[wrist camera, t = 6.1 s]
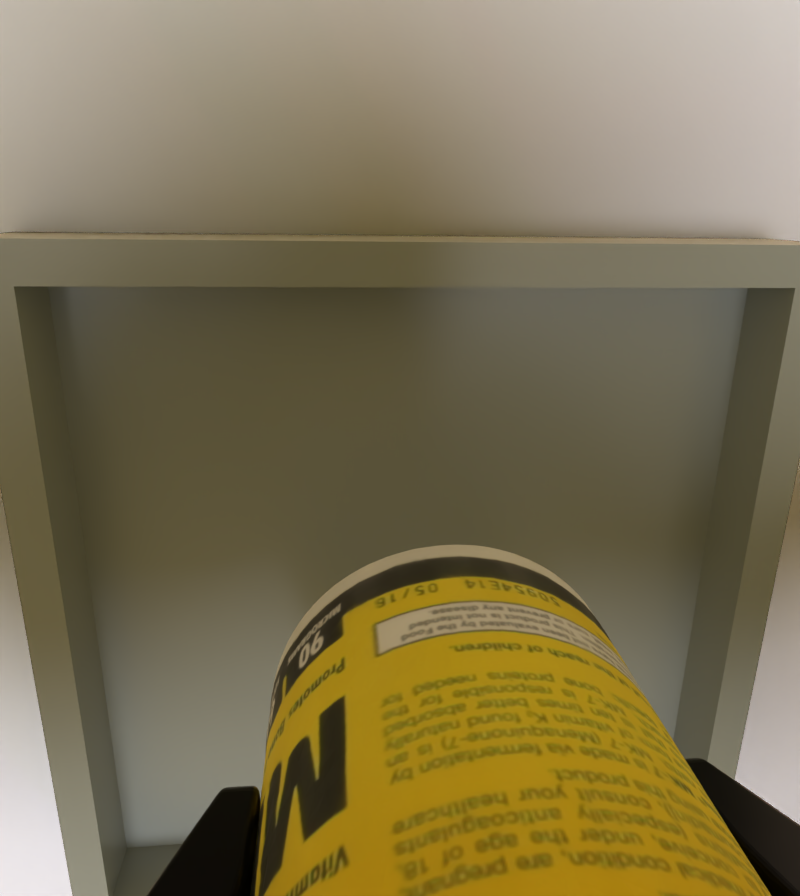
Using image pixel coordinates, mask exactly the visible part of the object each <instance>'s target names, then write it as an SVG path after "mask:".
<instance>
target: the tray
mask: <svg viewBox="0 0 800 896" xmlns="http://www.w3.org/2000/svg"><path fill="white" fill-rule="evenodd" d="M799 458H800V242H799V241H788V240H777V239H729V238H622V237H514V236H406V235H299V234H191V233H83V232H7V233H0V487H1V493H2V499H3V504H4V510H5V516H6V521H7V527H8V533H9V538H10V544H11V550H12V555H13V561H14V567H15V572H16V578H17V584H18V589H19V595H20V601H21V606H22V612H23V618H24V623H25V629H26V635H27V640H28V646H29V652H30V657H31V663H32V669H33V674H34V680H35V686H36V691H37V697H38V703H39V708H40V714H41V720H42V725H43V731H44V736H45V742H46V748H47V753H48V759H49V765H50V770H51V776H52V782H53V787H54V793H55V799H56V804H57V810H58V816H59V821H60V827H61V833H62V838H63V844H64V850H65V855H66V861H67V867H68V872H69V878H70V884H71V889H72V895H73V896H146V894H147V893H148V892H149V890H150V889H151V887H152V886H153V884H154V883H155V882H156V880H157V879H158V877H159V876H160V875H161V873H162V872H163V870H164V869H165V867H166V866H167V865H168V863H169V862H170V860H171V859H172V858H173V856H174V855H175V853H176V852H177V851H178V849H179V848H180V846H181V845H182V843H183V842H184V841H185V839H186V838H187V836H188V835H189V834H190V832H191V831H192V829H193V828H194V826H195V825H196V824H197V822H198V821H199V819H200V818H201V817H202V815H203V814H204V812H205V811H206V809H207V808H208V807H209V805H210V804H211V802H212V801H213V800H214V798H215V797H216V795H217V794H218V793H219V791H220V790H222V789H223V788H226V787H237V786H256V787H257V788H258V790H259V792H260V801H261V791H262V784H263V774H264V765H265V755H266V739H267V729H268V723H269V717H270V707H271V697H272V691H273V686H274V680H275V676H276V672H277V668H278V665H279V662H280V659H281V656H282V654H283V652H284V649H285V647H286V645H287V642H288V641H289V639H290V637H291V635H292V633H293V631H294V630H295V628H296V627H297V625H298V624H299V622H300V621H301V619H302V618H303V617H304V615H305V614H306V613H307V612H308V611H309V609H310V608H311V607H312V606H313V605H314V604H315V603H316V602H317V601H318V600H319V599H320V598H321V597H322V596H323V595H324V594H325V593H326V592H327V591H328V590H329V589H331V588H332V587H333V586H334V585H335V584H337V583H338V582H340V581H341V580H343V579H344V578H346V577H347V576H348V575H350V574H352V573H354V572H355V571H357V570H359V569H360V568H362V567H364V566H366V565H368V564H370V563H373V562H375V561H378V560H380V559H383V558H385V557H388V556H391V555H394V554H397V553H401V552H404V551H408V550H412V549H417V548H424V547H431V546H438V545H476V546H484V547H490V548H495V549H499V550H503V551H507V552H510V553H514V554H517V555H519V556H522V557H524V558H526V559H529V560H531V561H533V562H535V563H537V564H539V565H541V566H543V567H544V568H546V569H548V570H549V571H551V572H552V573H554V574H555V575H557V576H558V577H559V578H560V579H562V580H563V581H564V582H566V583H567V584H568V585H569V586H570V587H571V588H572V589H573V590H574V591H575V592H576V593H577V594H578V595H579V596H580V597H581V598H582V599H583V601H584V602H585V603H586V605H587V606H588V607H589V609H590V610H591V612H592V613H593V615H594V616H595V618H596V619H597V620H598V621H599V623H600V624H601V626H602V627H603V629H604V630H605V632H606V633H607V635H608V637H609V639H610V640H611V642H612V644H613V646H614V647H615V649H616V650H617V652H618V653H619V655H620V656H621V658H622V659H623V661H624V663H625V664H626V666H627V667H628V669H629V671H630V672H631V674H632V676H633V677H634V679H635V681H636V682H637V684H638V685H639V687H640V689H641V690H642V692H643V693H644V695H645V697H646V698H647V700H648V701H649V703H650V704H651V706H652V708H653V709H654V711H655V712H656V714H657V716H658V717H659V719H660V720H661V722H662V724H663V725H664V727H665V728H666V730H667V732H668V733H669V735H670V736H671V738H672V740H673V741H674V743H675V745H676V746H677V748H678V749H679V751H680V752H681V754H682V755H683V757H684V759H686V758H701V759H704V760H706V761H708V762H709V763H711V764H712V765H714V766H715V767H717V768H718V769H719V770H721V771H722V772H724V773H725V774H727V775H728V776H729V777H731V778H732V779H735V774H736V769H737V764H738V759H739V754H740V749H741V744H742V739H743V734H744V729H745V724H746V720H747V715H748V710H749V705H750V700H751V695H752V690H753V685H754V680H755V675H756V670H757V665H758V660H759V656H760V651H761V646H762V641H763V636H764V631H765V626H766V621H767V616H768V611H769V606H770V601H771V596H772V591H773V587H774V582H775V577H776V572H777V567H778V562H779V557H780V552H781V547H782V542H783V537H784V532H785V527H786V523H787V518H788V513H789V508H790V503H791V498H792V493H793V488H794V483H795V478H796V473H797V468H798V463H799Z"/></svg>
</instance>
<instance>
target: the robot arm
mask: <svg viewBox="0 0 800 896" xmlns="http://www.w3.org/2000/svg"><path fill="white" fill-rule="evenodd" d="M685 760H686V762H687V763H688V765H689V766H690V768H691V770H692V771H693V773H694V775H695V776H696V778H697V779H698V781H699V783H700V784H701V786H702V787H703V789H704V790H705V792H706V794H707V795H708V797H709V798H710V800H711V802H712V803H713V805H714V806H715V808H716V810H717V811H718V813H719V814H720V816H721V817H722V819H723V821H724V822H725V824H726V825H727V827H728V829H729V830H730V832H731V833H732V835H733V837H734V838H735V840H736V841H737V843H738V844H739V846H740V847H741V849H742V851H743V852H744V854H745V855H746V857H747V858H748V860H749V861H750V863H751V864H752V866H753V868H754V869H755V871H756V872H757V874H758V875H759V877H760V878H761V880H762V882H763V883H764V885H765V886H766V888H767V889H768V891H769V892H770V894H771V895H772V896H800V825H799V824H797V823H796V822H794V821H793V820H792V819H790V818H789V817H787V816H786V815H784V814H783V813H781V812H780V811H779V810H777V809H776V808H774V807H773V806H771V805H770V804H768V803H767V802H766V801H764V800H763V799H761V798H760V797H758V796H757V795H755V794H754V793H753V792H751V791H750V790H748V789H747V788H745V787H744V786H742V785H741V784H740V783H738V782H737V781H735V780H734V779H732V778H731V777H729V776H728V775H727V774H725V773H724V772H722V771H721V770H719V769H718V768H717V767H715V766H714V765H712V764H711V763H709V762H708V761H706V760H704V759H701V758H686V759H685ZM259 812H260V792H259V790H258V788H257V787H256V786H237V787H226V788H223V789H222V790H220V791H219V793H218V794H217V795H216V797H215V798H214V800H213V801H212V802H211V804H210V805H209V807H208V808H207V809H206V811H205V812H204V814H203V815H202V817H201V818H200V819H199V821H198V822H197V824H196V825H195V826H194V828H193V829H192V831H191V832H190V834H189V835H188V836H187V838H186V839H185V841H184V842H183V843H182V845H181V846H180V848H179V849H178V851H177V852H176V853H175V855H174V856H173V858H172V859H171V860H170V862H169V863H168V865H167V866H166V867H165V869H164V870H163V872H162V873H161V875H160V876H159V877H158V879H157V880H156V882H155V883H154V884H153V886H152V887H151V889H150V890H149V892H148V893H147V894H146V896H250V889H251V878H252V871H253V863H254V856H255V847H256V837H257V829H258V821H259Z"/></svg>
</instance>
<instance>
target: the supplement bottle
mask: <svg viewBox="0 0 800 896" xmlns="http://www.w3.org/2000/svg"><path fill="white" fill-rule="evenodd" d="M250 896H772V895H771V894H770V892H769V891H768V889H767V888H766V886H765V885H764V883H763V882H762V880H761V878H760V877H759V875H758V874H757V872H756V871H755V869H754V868H753V866H752V864H751V863H750V861H749V860H748V858H747V857H746V855H745V854H744V852H743V851H742V849H741V847H740V846H739V844H738V843H737V841H736V840H735V838H734V837H733V835H732V833H731V832H730V830H729V829H728V827H727V825H726V824H725V822H724V821H723V819H722V817H721V816H720V814H719V813H718V811H717V810H716V808H715V806H714V805H713V803H712V802H711V800H710V798H709V797H708V795H707V794H706V792H705V790H704V789H703V787H702V786H701V784H700V783H699V781H698V779H697V778H696V776H695V775H694V773H693V771H692V770H691V768H690V766H689V765H688V763H687V762H686V760H685V759H684V757H683V755H682V754H681V752H680V751H679V749H678V748H677V746H676V745H675V743H674V741H673V740H672V738H671V736H670V735H669V733H668V732H667V730H666V728H665V727H664V725H663V724H662V722H661V720H660V719H659V717H658V716H657V714H656V712H655V711H654V709H653V708H652V706H651V704H650V703H649V701H648V700H647V698H646V697H645V695H644V693H643V692H642V690H641V689H640V687H639V685H638V684H637V682H636V681H635V679H634V677H633V676H632V674H631V672H630V671H629V669H628V667H627V666H626V664H625V663H624V661H623V659H622V658H621V656H620V655H619V653H618V652H617V650H616V649H615V647H614V646H613V644H612V642H611V640H610V639H609V637H608V635H607V633H606V632H605V630H604V629H603V627H602V626H601V624H600V623H599V621H598V620H597V619H596V618H595V616H594V615H593V613H592V612H591V610H590V609H589V607H588V606H587V605H586V603H585V602H584V601H583V599H582V598H581V597H580V596H579V595H578V594H577V593H576V592H575V591H574V590H573V589H572V588H571V587H570V586H569V585H568V584H567V583H566V582H564V581H563V580H562V579H560V578H559V577H558V576H557V575H555V574H554V573H552V572H551V571H549V570H548V569H546V568H544V567H543V566H541V565H539V564H537V563H535V562H533V561H531V560H529V559H526V558H524V557H522V556H519V555H517V554H514V553H510V552H507V551H503V550H499V549H495V548H490V547H484V546H476V545H438V546H431V547H424V548H417V549H412V550H408V551H404V552H401V553H397V554H394V555H391V556H388V557H385V558H383V559H380V560H378V561H375V562H373V563H370V564H368V565H366V566H364V567H362V568H360V569H359V570H357V571H355V572H354V573H352V574H350V575H348V576H347V577H346V578H344V579H343V580H341V581H340V582H338V583H337V584H335V585H334V586H333V587H332V588H331V589H329V590H328V591H327V592H326V593H325V594H324V595H323V596H322V597H321V598H320V599H319V600H318V601H317V602H316V603H315V604H314V605H313V606H312V607H311V608H310V609H309V611H308V612H307V613H306V614H305V615H304V617H303V618H302V619H301V621H300V622H299V624H298V625H297V627H296V628H295V630H294V631H293V633H292V635H291V637H290V639H289V641H288V642H287V645H286V647H285V649H284V652H283V654H282V656H281V659H280V662H279V665H278V668H277V672H276V676H275V680H274V686H273V691H272V697H271V707H270V717H269V723H268V729H267V739H266V755H265V765H264V774H263V784H262V791H261V801H260V812H259V821H258V829H257V837H256V847H255V856H254V863H253V871H252V878H251V889H250Z"/></svg>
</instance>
